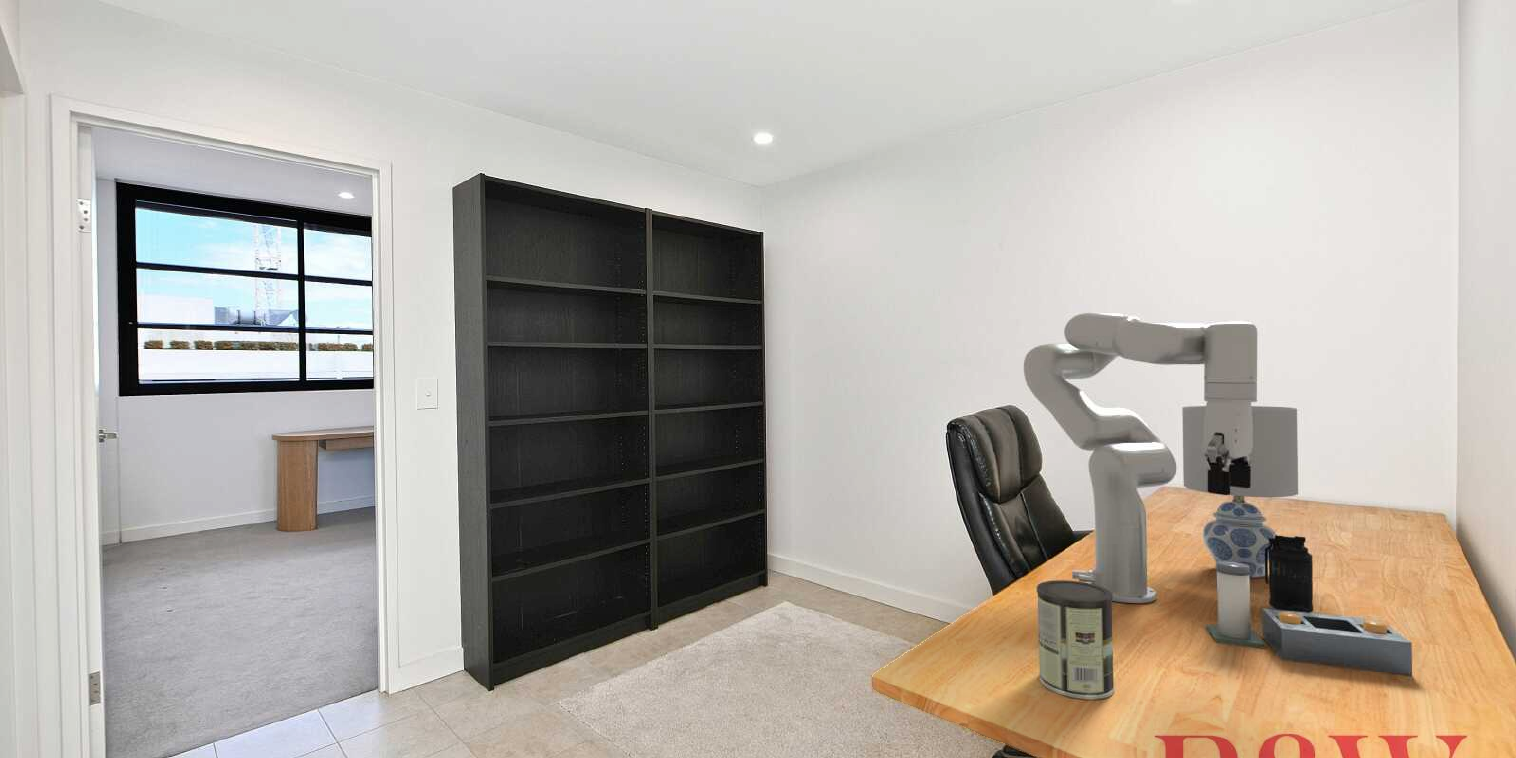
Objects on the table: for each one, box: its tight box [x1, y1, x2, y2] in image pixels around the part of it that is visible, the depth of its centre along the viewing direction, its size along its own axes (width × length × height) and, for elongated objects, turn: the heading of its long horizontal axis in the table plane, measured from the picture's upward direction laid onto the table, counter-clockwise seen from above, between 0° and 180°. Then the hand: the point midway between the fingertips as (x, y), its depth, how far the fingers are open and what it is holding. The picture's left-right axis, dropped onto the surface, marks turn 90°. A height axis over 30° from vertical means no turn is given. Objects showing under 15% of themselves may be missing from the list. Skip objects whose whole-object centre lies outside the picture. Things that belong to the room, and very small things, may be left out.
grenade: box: [1264, 534, 1314, 613], centre depth 126 cm, size 7×7×15 cm
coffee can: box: [1036, 579, 1115, 701], centre depth 99 cm, size 10×10×14 cm
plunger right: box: [1363, 620, 1388, 633], centre depth 105 cm, size 3×3×5 cm
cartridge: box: [1215, 561, 1252, 639], centre depth 115 cm, size 5×5×12 cm
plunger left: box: [1279, 612, 1301, 624], centre depth 110 cm, size 3×3×5 cm
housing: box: [1261, 607, 1413, 677], centre depth 108 cm, size 16×10×5 cm, turn 67°
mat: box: [1205, 624, 1266, 649], centre depth 115 cm, size 7×7×1 cm
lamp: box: [1181, 405, 1299, 578], centre depth 153 cm, size 22×22×38 cm
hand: (1229, 490), depth 116 cm, fingers open, 9 cm apart
